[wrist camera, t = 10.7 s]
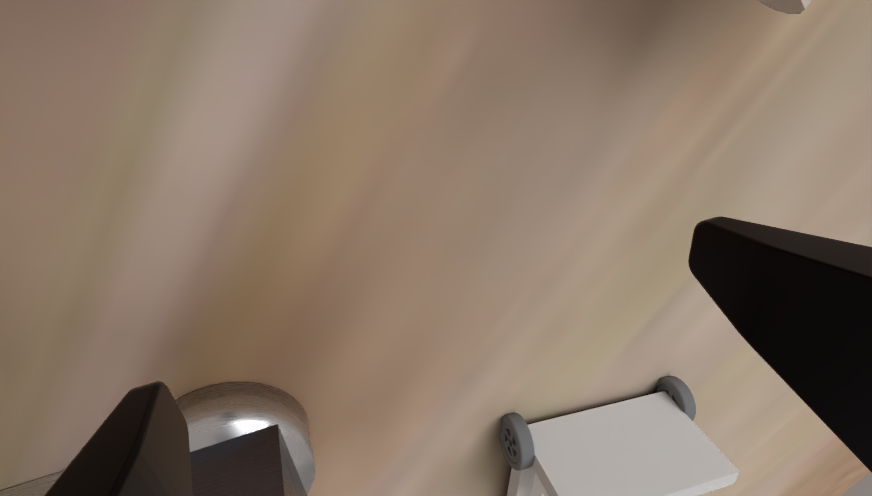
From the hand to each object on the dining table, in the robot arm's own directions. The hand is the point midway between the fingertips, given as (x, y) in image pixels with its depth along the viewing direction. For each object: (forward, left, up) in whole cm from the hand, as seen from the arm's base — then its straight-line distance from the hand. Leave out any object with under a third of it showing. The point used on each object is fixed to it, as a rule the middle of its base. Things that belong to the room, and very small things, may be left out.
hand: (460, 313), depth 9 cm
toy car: (-10, +28, -13) cm, 33 cm away
